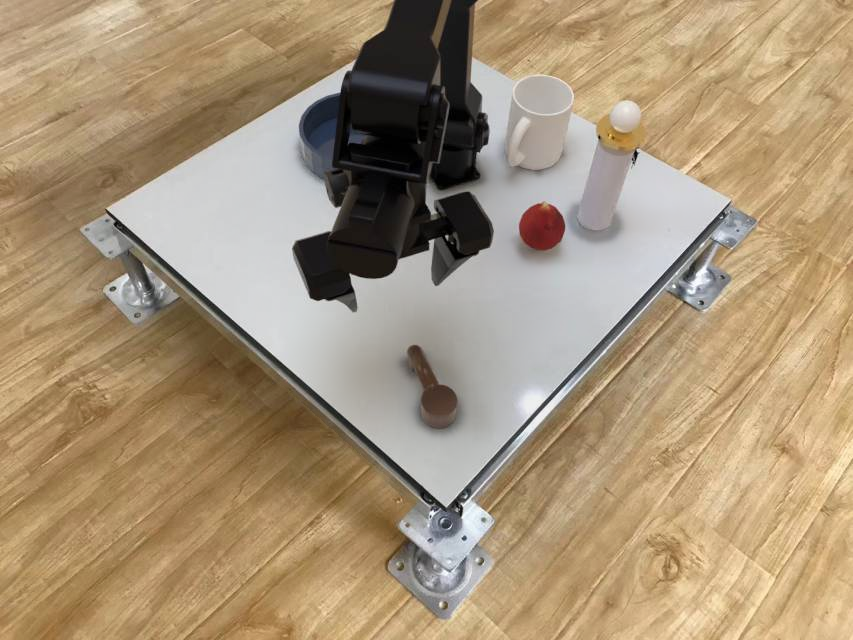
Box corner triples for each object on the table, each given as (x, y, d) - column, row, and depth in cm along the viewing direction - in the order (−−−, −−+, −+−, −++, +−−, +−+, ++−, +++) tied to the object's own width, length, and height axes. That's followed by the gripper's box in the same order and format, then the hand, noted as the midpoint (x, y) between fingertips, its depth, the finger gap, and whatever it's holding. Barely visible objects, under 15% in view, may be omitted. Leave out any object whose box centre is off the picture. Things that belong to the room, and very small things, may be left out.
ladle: (461, 421, 86) (463, 407, 84) (429, 433, 85) (429, 419, 83) (427, 352, 91) (427, 336, 89) (395, 362, 90) (395, 347, 88)
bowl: (380, 106, 116) (379, 82, 112) (416, 169, 108) (417, 145, 105) (289, 130, 112) (285, 105, 108) (321, 196, 105) (318, 172, 101)
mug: (529, 196, 106) (540, 140, 98) (479, 170, 109) (485, 113, 100) (571, 147, 112) (585, 90, 103) (522, 124, 114) (532, 66, 106)
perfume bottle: (595, 244, 101) (632, 128, 85) (563, 219, 104) (593, 101, 87) (623, 223, 104) (665, 106, 87) (591, 199, 106) (626, 80, 89)
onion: (564, 236, 102) (575, 194, 96) (554, 268, 99) (564, 227, 92) (522, 224, 103) (530, 182, 96) (510, 255, 100) (518, 214, 93)
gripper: (453, 108, 74) (445, 218, 87) (265, 156, 69) (286, 265, 82) (504, 185, 68) (487, 291, 81) (302, 244, 64) (318, 346, 76)
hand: (394, 295), depth 80 cm, fingers open, 9 cm apart
